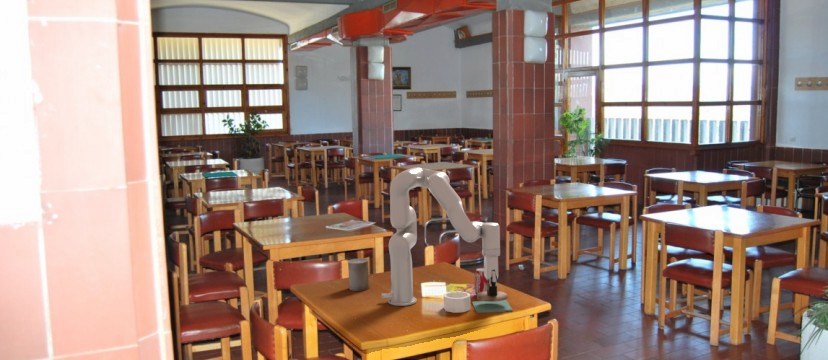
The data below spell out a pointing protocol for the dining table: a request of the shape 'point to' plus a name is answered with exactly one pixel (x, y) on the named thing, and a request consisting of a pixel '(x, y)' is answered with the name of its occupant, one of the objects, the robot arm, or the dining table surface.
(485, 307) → the rubber mat
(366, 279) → the pillar candle
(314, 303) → the dining table surface
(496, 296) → the walnut lid
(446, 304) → the ceramic bowl
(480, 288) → the soda can
